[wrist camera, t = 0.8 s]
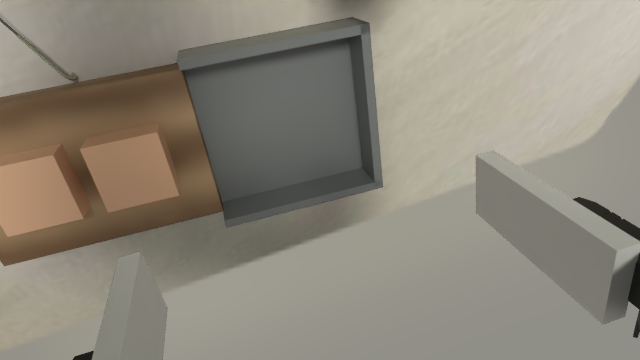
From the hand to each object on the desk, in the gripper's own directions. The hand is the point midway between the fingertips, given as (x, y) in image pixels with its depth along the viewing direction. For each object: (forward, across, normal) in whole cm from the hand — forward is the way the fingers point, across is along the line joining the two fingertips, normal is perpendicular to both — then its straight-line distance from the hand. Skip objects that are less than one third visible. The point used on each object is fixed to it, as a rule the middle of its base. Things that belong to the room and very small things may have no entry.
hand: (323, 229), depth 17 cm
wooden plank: (+27, -16, -4) cm, 32 cm away
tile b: (+24, -12, -4) cm, 27 cm away
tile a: (+24, -20, -4) cm, 31 cm away
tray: (+27, +2, -5) cm, 28 cm away
